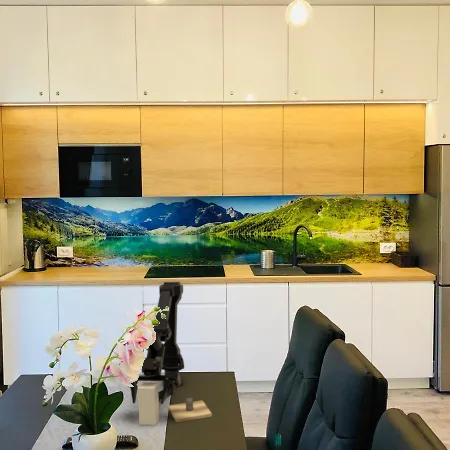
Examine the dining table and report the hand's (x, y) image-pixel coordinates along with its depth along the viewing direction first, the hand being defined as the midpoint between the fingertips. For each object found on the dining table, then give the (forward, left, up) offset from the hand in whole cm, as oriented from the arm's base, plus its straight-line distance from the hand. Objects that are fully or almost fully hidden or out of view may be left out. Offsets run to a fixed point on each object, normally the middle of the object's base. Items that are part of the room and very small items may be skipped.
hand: (147, 403), depth 174 cm
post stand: (-2, +15, -7) cm, 16 cm away
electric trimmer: (-18, +7, -7) cm, 21 cm away
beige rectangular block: (-1, +1, -7) cm, 7 cm away
